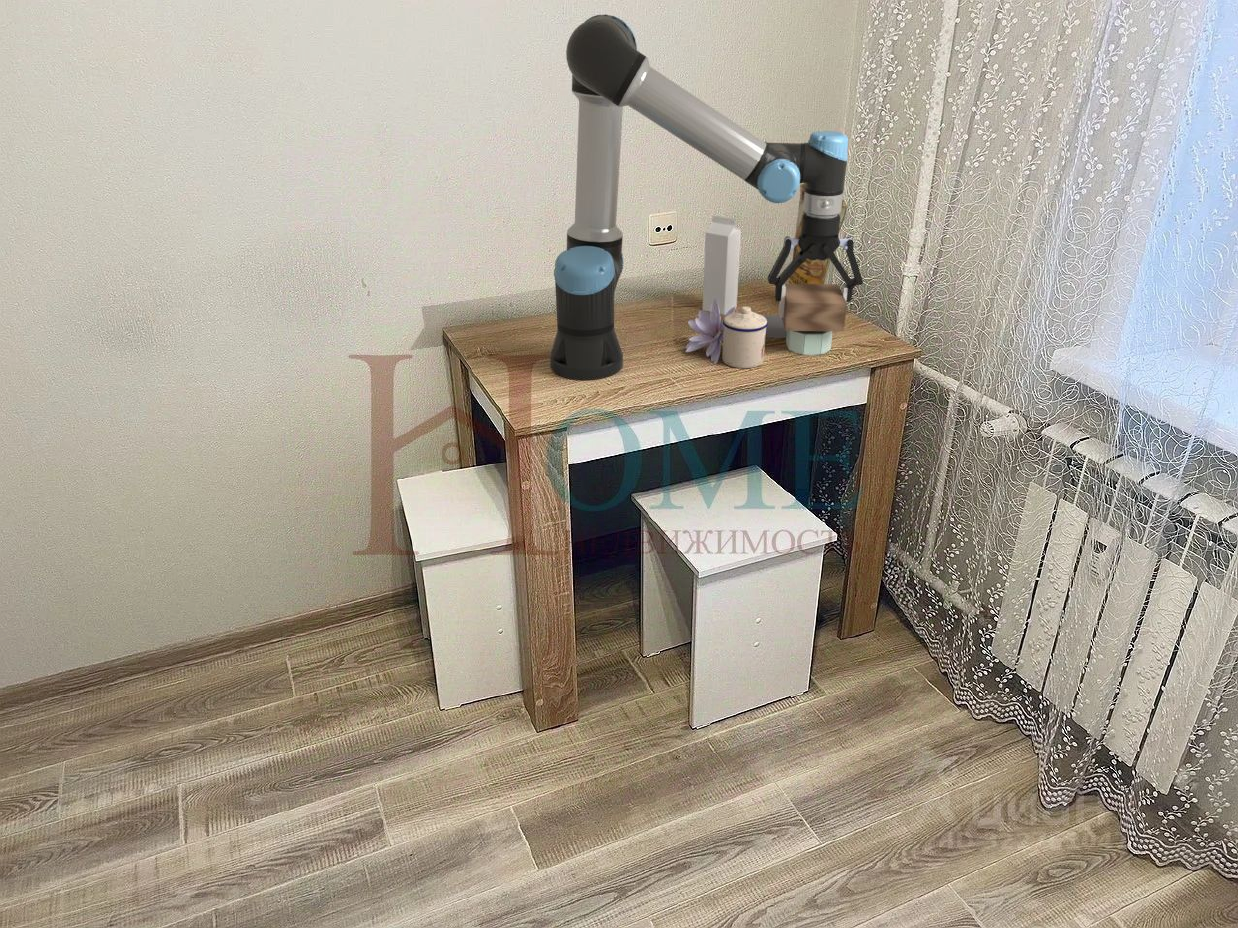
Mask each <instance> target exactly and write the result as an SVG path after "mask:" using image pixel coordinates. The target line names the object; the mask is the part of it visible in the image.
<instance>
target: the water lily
mask: <svg viewBox="0 0 1238 928" xmlns="http://www.w3.org/2000/svg"><path fill="white" fill-rule="evenodd" d="M735 310H736V308H735V307H733V308H731V309H730V310H729V311H728V312H727V313H726V314H725V315H724V317H723V319H722V318H721V314H720V310H719V306H718V303H717V301H716V299H714V300H713V301H712V304H711V312H710V314H709V313H708V311H705V310H703V309H702V310H701V309H700V310H699V311H698V315H697V316H698V317H696V318H695V319H690V320H688V322H687V323H688V326H689V327H690V328H691V329H692V330H693V331H694V332H696V333H698V334H699V335H693V336H692V337H689V338H688V341H689V342H688V343H687V344H686V346H685V347H684V348H685V349H686V350H685V353H691V352H694V351H698V350H700V349H702V348H704V347H706V346H707V345H708V347H707V348H706V350H705V354H706V357H709V356H710V359H711V362H712V364H713V365H717V363H718V361H719V358H720V355H721V350H722V344H723V334H724V324H723V320H724V318H725V317H726V316H727V315H729V314H731V313H735V312H736V311H735ZM721 343H722V344H721Z"/></svg>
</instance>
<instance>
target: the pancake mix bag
mask: <svg viewBox="0 0 1238 928" xmlns="http://www.w3.org/2000/svg"><path fill="white" fill-rule="evenodd" d="M799 188H800V190H799V191H800V195H799V204H798V212H797V219H796V227H795V233H794V238H795V239H798V238H799V237H800V234H801V225H802V215H803V214H804V213H805V212H804V211H803V204H804V194H805V183H800V184H799ZM847 209H848V205H847V203H846V202H845V201H844V199H842V208H841V212H840V213H839V216H840V226H839V232H840V231H841V228H842V226H843V223H844V221H845V218H846V214H847ZM792 250H793V251H792V252H793V254H792V260H791V262H792V261H793V260H794V258H795V257H796V256H797V254H798V253H799V252H800V251H801V249H800V247H799V245H795V247H794V249H792ZM830 264H831V260H830V259H829V258H828V259H826V260H818V259H817V260H810V259H808V258H807V259H806V261H805V262H804V263H802V264H801V265H800V266H799V267H798V269H797V270H796V271H795V272H794V273H793V274H792V275H791V277H790V278H789V279H788V284H825V281H826V278H827V274H828V271H829V267H830Z"/></svg>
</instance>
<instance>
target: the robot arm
mask: <svg viewBox="0 0 1238 928" xmlns="http://www.w3.org/2000/svg"><path fill="white" fill-rule="evenodd" d="M637 46H638V45H637V41H636V37H635V34H634V32H633V30H632V29H631V27H630V26H629V25H628V24H627V23H626V22H625V21H624V20H623V19H621V18H620V17H617V16H615V15H612V14H611V15H610V14H596V15H593V16H591V17H589V18H588V19H586V20H585V21H584V22H582V23H581V24H579V25H578V26H576V28H575V29H574V30H573V32H572V33H571V35H570V36H569V39H568V42H567V44H566V51H565V52H566V53H565V57H566V63H567V67H568V69H569V71H570V73H571V92H572V94H573V95H574V96H575V98H576V99H577V100H578V122H577V124H578V125H577V126H578V127H577V151H576V152H577V153H576V178H575V179H576V180H575V203H574V204H575V207H574V223H573V224H572V225H570V226H569V228H568V229H567V231H566V250H563V251H562V252H560V254H558V255H557V257H556V260H555V262H554V268H553V269H554V270H553V276H554V280H555V281H554V282H555V283H554V284H555V301H556V302H555V309H556V326H557V327H556V334H555V338H554V340H553V344H552V347H551V351H550V355H549V366H550V369H551V370H552V372H553V373H554V374H557V375H558V376H561V377H563V378H567V379H572V380H580V381H583V380H586V381H589V380H598V379H603V378H608V377H610V376H613V375H616V374H617V373H618V372H620V371H621V370H622V368H623V367H624V353H623V350H622V348H621V345H620V342H619V339H618V337H617V336H618V335H617V333H616V330H615V292H616V288H617V284H618V282H619V279H620V278H621V274H622V272H623V269H624V258H623V237H624V236H623V232H622V230H621V229H620V228H619V227H618V226H617V213H618V212H617V211H618V196H619V179H620V163H621V161H620V160H621V150H622V149H621V146H622V130H623V129H622V128H623V116H624V115H623V112H624V107H627V106H628V107H630V108H631V109H633V110H635V111H636V112H637V113H639V114H641V115H642V116H644V117H645V118H647V119H649V120H650V121H651V122H653V123H655V124H656V125H658V126H659V127H661V128H662V129H664V130H665V131H667V132H668V133H670V134H672V135H673V136H675V137H677V138H678V139H680V141H682V142H684V143H685V144H687V145H688V146H690V147H691V148H694V150H696V151H698V152H699V153H701V154H703V155H704V156H705V157H707V158H709V159H711V160H712V161H714V162H715V163H717V164H718V165H720V166H721V167H723V168H725V169H726V170H728V171H729V172H731V173H732V174H734V175H735V176H737V177H739V178H740V179H741V180H743V181H744V182H746V183H747V184H748V185H750V186H752V187H753V188H755V190H757V191H758V192H759V193H760V195H761V196H762V197H763V198H764V200H766V201H767V202H770V203H772V204H784V203H786V202H788V201H790V200H791V199H793V198H794V197H795V196H796V194H797V192H798V191H799V188H800V185H801V184H804V183H805V194H804V204H803V211H804V212H805V213H804V214H803V215H802V225H801V234H800V237H799V238H798V239H795V237H794V238H792V237H790V236H785V237H784V239H783V240H784V241H783V246H782V249H781V251H780V253H779V254H778V256H777V259H776V260H775V262H774V264H773V265H772V267H771V269H770V271H769V272H768V275H767V282H768V283H769V285H774V286H775V290H774V293H775V294H774V298H775V302H779V304H778V315H779V317H780V318H783V315H784V304H785V293H786V286H785V284H786V283H787V282H788V281H789V278H790V277H791V275H792V274H793V273H794V272H795V271H796V270H797V269H798V267H799V266H800V265H801V264H802V263H804V262H805V261H806V259H807V258H808V259H810V260H817V259H818V260H826V259H828V258H829V259H830V260H831V261H830V263H832V264H833V266H834V268H835V269H836V271H837V273H838V274H839V275H840V277H841V278H842V279H843V281H844V283H845V284H844V283H843V284H841V289H840V290H841V292H842V294H843V296H844V298H845V300H846V302H847V303H850V302H852V299H853V291H854V290H853V289H854V288H855V287H856V286H861V285H863V283H864V281H863V277H862V274H861V271H860V268H859V264H858V261H857V257H856V255H855V252H854V240H853V238H852V237H851V236H847V237H846V238H840V237H839V235H840V231H839V226H840V216H839V213H840V212H841V208H842V200H843V197H844V189H845V181H846V180H845V178H846V173H847V172H846V171H847V165H848V149H849V137H848V136H847V135H846V134H845V133H843V132H840V131H835V130H822V131H819V130H817V131H814V132H812V133H810V135H809V139H808V142H803V143H802V142H801V143H798V142H797V143H796V142H767V141H763V140H762V139H760V138H759V137H757V136H756V135H754V134H752V133H751V132H750V131H748V130H746V129H744V128H743V127H742V126H741V125H739V124H737V123H736V122H735V121H733V120H731V119H730V118H728V117H727V116H725V115H724V114H723V113H721V112H719V111H718V110H717V109H715V108H714V107H713V106H711V105H709V104H707V103H706V102H704V101H703V100H701V99H700V98H699V97H697V96H695V95H694V94H692V93H691V92H689V91H688V90H686V89H685V88H683V87H681V86H680V85H678V84H677V83H675V82H674V81H673V80H671V79H670V78H668V77H666V76H665V75H663V74H662V73H661V72H659V71H658V70H656V69H654V68H653V67H651V65H650V61H649V58H648V57H647V55H644V54H643V53H642V52H640V51H639V50H638V47H637ZM795 245H799V247H800V249H801V251H800V252H799V253H798V254H797V256H796V257H795V258H794V260H793V259H792V260H793V261H792V260H791V262H790V263H789V264H788V265H787V267H785V269H784V270H783V271H782V269H783V267H784V265H785V263H786V261H787V259H788V257H789V255H790V253H791V250H794V247H795ZM840 246H841V247H842V249H843V251H845V253H846V255H847V259H848V261H849V265H850V268H851V272H852V274H853V277H852V278H851V277H850V276H849V274H848V273H847V271H846V270H845V268H844V266H843V265H842V264H841V262H840V260H839V259H838V258H837V255H836V254H835V252H836V250H837V249H838V248H839V247H840ZM780 272H781V274H780Z"/></svg>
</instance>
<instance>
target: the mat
mask: <svg viewBox="0 0 1238 928" xmlns="http://www.w3.org/2000/svg"><path fill="white" fill-rule="evenodd" d="M761 315H762V316H764V317H765V318H766V320H767V323H768V325H767V327H766V336H765V339H787V331H785V328H784V325H783V321H782V318H780V317H779V314H777V315H776V314H761Z"/></svg>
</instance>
